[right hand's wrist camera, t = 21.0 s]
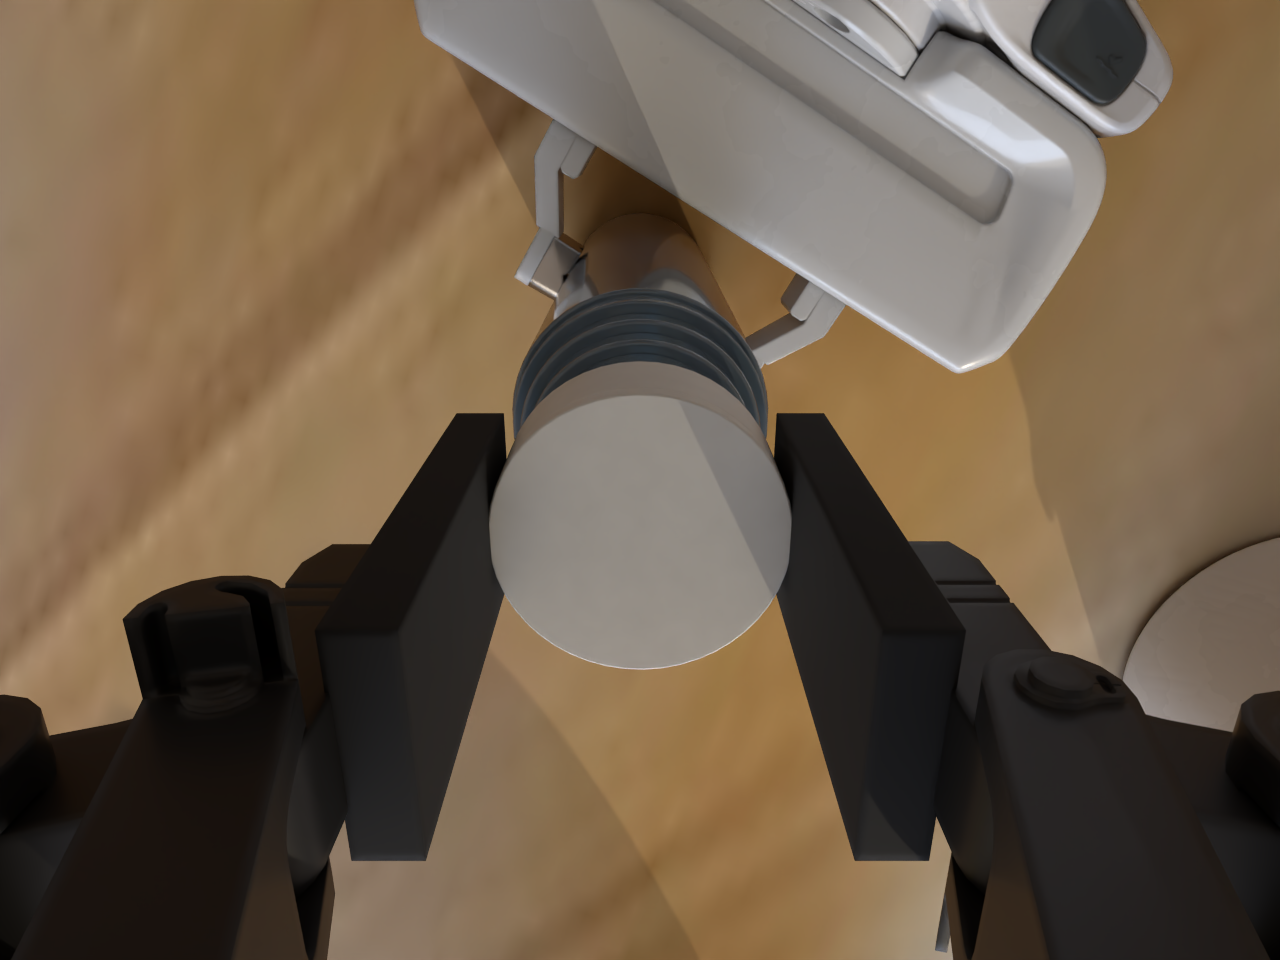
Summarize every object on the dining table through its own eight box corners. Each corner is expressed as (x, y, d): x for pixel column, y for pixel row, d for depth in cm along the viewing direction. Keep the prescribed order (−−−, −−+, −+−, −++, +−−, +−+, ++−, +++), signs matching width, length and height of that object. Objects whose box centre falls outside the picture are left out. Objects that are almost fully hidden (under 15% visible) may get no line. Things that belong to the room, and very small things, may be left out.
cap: (689, 649, 15) (695, 713, 14) (461, 539, 15) (437, 593, 13) (827, 443, 14) (853, 486, 12) (583, 308, 13) (575, 334, 11)
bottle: (704, 208, 33) (818, 339, 12) (710, 344, 35) (815, 662, 14) (566, 217, 33) (438, 364, 12) (579, 353, 35) (488, 681, 14)
